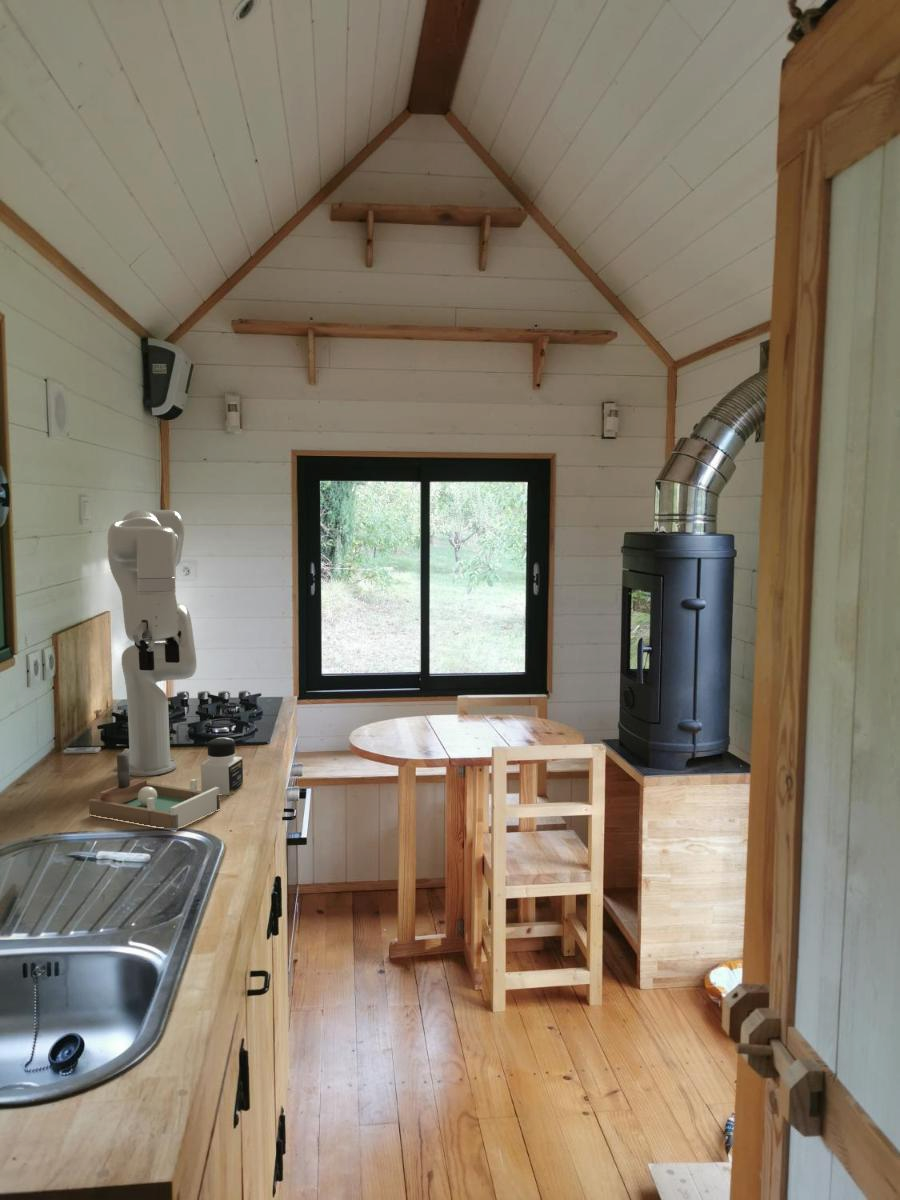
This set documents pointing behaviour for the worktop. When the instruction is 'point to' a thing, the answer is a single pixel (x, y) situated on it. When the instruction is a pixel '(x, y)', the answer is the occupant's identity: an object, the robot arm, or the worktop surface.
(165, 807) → the pitch
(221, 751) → the medicine bottle
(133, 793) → the striker
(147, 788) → the ball
